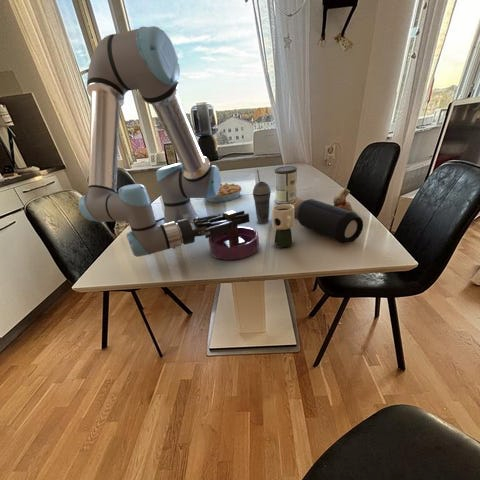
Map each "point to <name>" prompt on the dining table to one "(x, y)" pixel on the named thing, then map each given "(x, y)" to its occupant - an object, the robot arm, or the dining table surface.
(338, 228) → the portable speaker
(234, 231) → the wooden stamp
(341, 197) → the chocolate bunny
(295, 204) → the bread roll
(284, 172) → the coffee can
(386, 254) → the dining table surface
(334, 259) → the dining table surface
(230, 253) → the bowl
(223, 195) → the pie
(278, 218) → the character mug
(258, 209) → the beverage cup
